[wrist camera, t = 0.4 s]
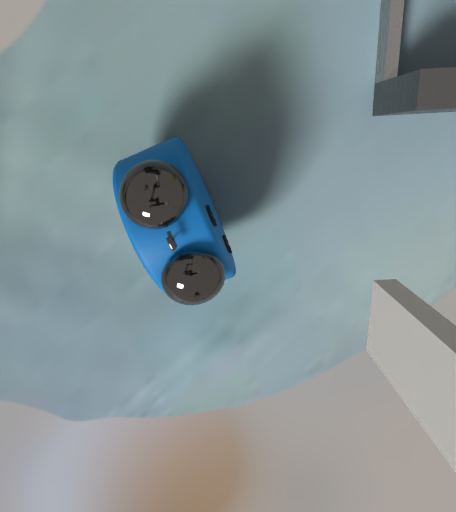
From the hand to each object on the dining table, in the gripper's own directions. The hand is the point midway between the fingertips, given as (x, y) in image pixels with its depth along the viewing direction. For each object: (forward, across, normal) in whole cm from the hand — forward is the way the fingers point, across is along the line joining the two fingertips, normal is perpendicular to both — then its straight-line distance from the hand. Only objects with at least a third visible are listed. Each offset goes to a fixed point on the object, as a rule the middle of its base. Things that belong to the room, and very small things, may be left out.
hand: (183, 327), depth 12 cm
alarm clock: (+27, -2, -1) cm, 27 cm away
